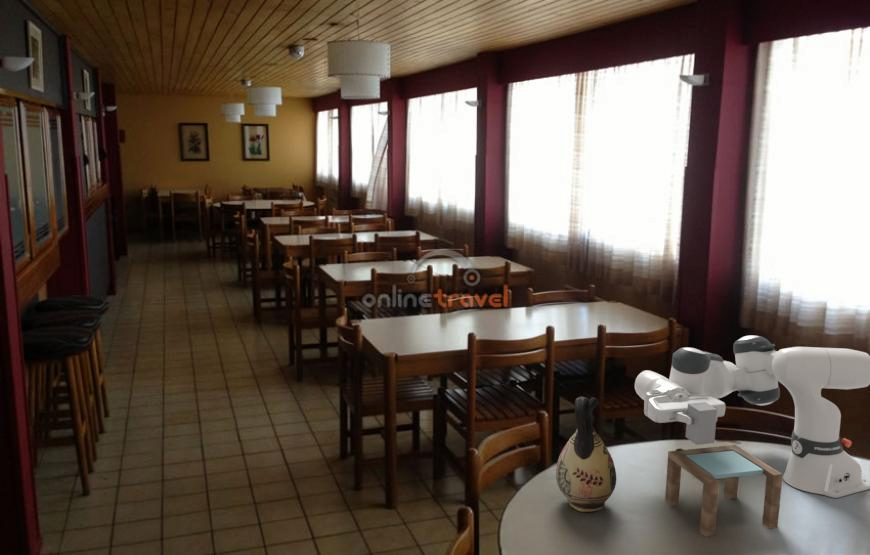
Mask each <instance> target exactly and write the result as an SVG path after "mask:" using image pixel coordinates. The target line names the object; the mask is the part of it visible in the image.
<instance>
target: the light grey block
mask: <svg viewBox="0 0 870 555" xmlns="http://www.w3.org/2000/svg"><path fill="white" fill-rule="evenodd" d="M687 416H692V417H694V419H695V421H694V422H695V423H694V424H692V425H688V424H687V423H685V424H686V426H685V438H686V439H688V440H689V441H690V442H692V443H693V444H694V445H696V446H698V445H707V444H709V445H710V444H715V439H716V429H717V428H716V427H717V422H716V417H717V409H716V408H714V407H713V406H711V405H709V404H708V403H706V402H701V403H691V404H688V409H687ZM717 418H718V417H717Z"/></svg>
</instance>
